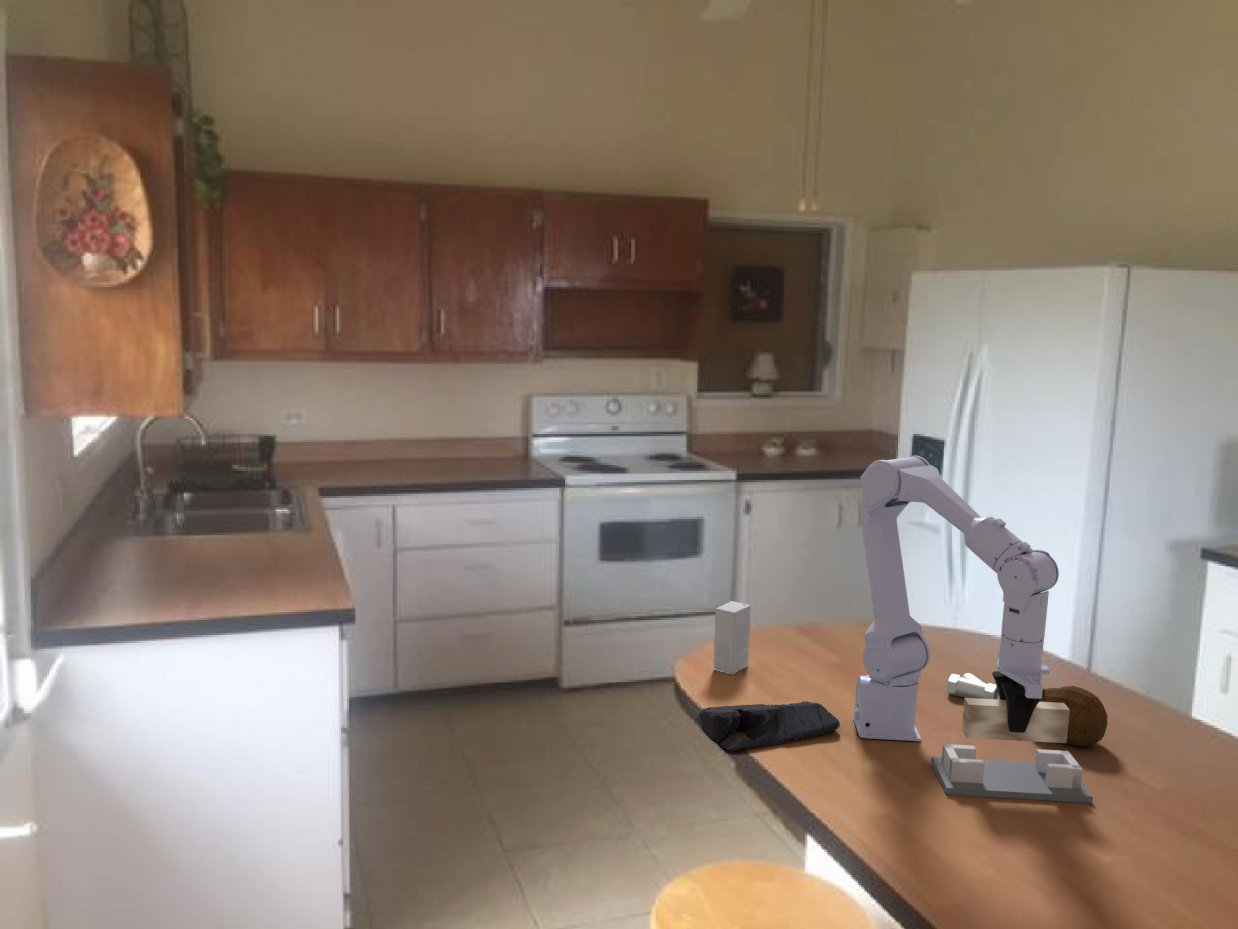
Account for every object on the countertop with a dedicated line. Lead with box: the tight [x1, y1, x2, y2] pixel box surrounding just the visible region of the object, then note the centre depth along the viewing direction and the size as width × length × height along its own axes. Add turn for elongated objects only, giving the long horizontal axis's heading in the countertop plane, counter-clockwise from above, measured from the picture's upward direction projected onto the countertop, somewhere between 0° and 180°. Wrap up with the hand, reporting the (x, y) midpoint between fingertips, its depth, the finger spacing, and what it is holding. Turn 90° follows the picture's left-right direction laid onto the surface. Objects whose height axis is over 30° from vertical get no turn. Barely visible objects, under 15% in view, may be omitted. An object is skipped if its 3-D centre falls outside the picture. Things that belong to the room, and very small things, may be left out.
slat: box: [961, 697, 1070, 744], centre depth 151 cm, size 14×2×5 cm, turn 86°
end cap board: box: [930, 743, 1094, 804], centre depth 153 cm, size 20×10×4 cm, turn 86°
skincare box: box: [713, 600, 751, 676], centre depth 194 cm, size 6×4×12 cm
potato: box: [1039, 685, 1108, 747], centre depth 168 cm, size 8×12×9 cm
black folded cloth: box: [694, 700, 841, 752], centre depth 170 cm, size 15×22×5 cm
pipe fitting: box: [946, 672, 1000, 700], centre depth 185 cm, size 8×4×7 cm
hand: (1013, 727), depth 152 cm, fingers closed on slat, 2 cm apart
